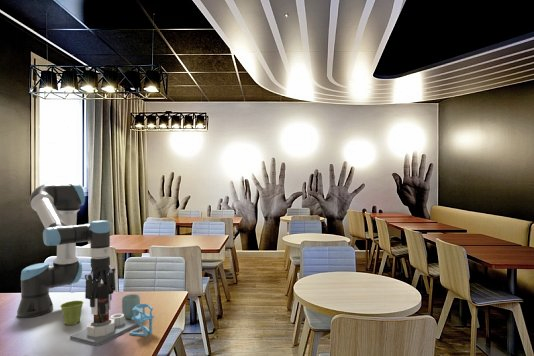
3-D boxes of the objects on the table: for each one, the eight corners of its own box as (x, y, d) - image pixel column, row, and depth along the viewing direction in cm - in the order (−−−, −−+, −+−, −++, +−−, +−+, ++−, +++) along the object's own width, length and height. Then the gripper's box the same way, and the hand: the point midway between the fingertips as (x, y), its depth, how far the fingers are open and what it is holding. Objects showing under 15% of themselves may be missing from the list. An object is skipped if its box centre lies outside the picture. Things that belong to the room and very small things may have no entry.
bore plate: (70, 338, 146) (70, 327, 146) (113, 319, 166) (113, 309, 166) (97, 345, 140) (97, 334, 140) (139, 325, 160) (139, 314, 160)
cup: (133, 321, 164) (133, 299, 164) (118, 320, 165) (118, 299, 165) (143, 315, 171) (142, 294, 171) (128, 314, 173) (128, 293, 173)
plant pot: (59, 328, 157) (59, 308, 157) (61, 321, 166) (60, 302, 166) (83, 324, 162) (83, 305, 162) (83, 317, 170) (83, 299, 170)
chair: (141, 339, 145) (141, 309, 145) (128, 334, 150) (128, 306, 150) (156, 332, 152) (156, 304, 152) (143, 328, 156) (143, 300, 156)
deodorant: (96, 318, 153) (96, 283, 154) (111, 317, 154) (110, 282, 154) (91, 323, 147) (90, 287, 148) (106, 322, 148) (105, 286, 148)
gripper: (87, 262, 141) (87, 320, 141) (124, 253, 158) (125, 305, 158) (74, 261, 144) (74, 318, 144) (112, 252, 161) (112, 303, 161)
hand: (101, 311), depth 151 cm, fingers closed on deodorant, 6 cm apart
